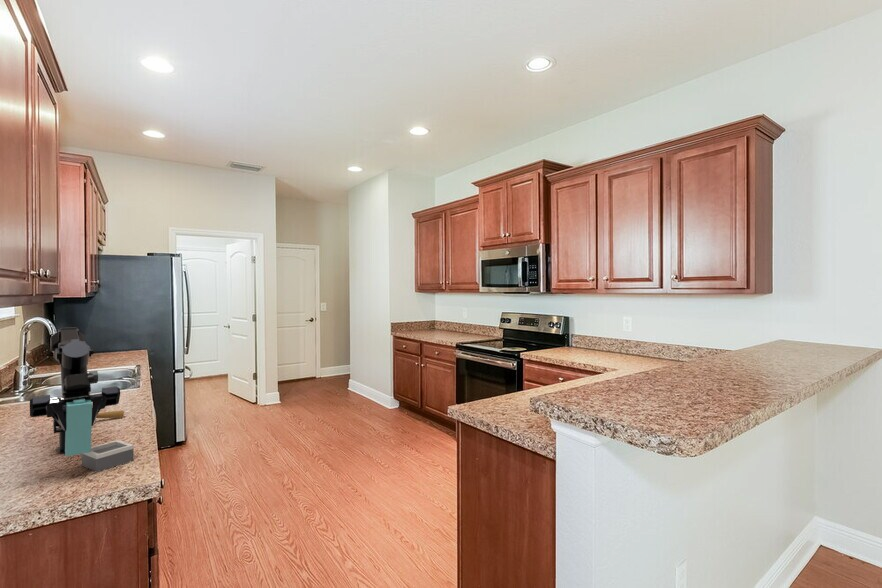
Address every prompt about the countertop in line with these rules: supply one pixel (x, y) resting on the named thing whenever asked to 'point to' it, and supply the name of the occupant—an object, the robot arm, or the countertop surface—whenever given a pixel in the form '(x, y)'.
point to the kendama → (111, 414)
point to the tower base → (108, 455)
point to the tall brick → (78, 427)
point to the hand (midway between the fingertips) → (79, 427)
